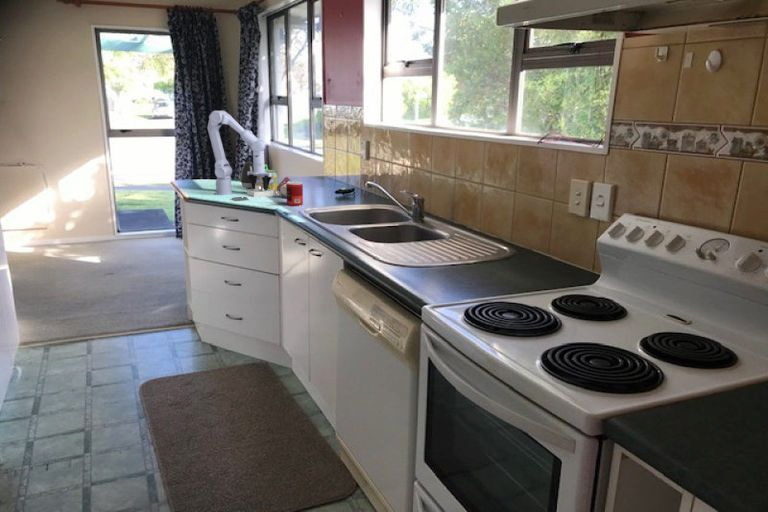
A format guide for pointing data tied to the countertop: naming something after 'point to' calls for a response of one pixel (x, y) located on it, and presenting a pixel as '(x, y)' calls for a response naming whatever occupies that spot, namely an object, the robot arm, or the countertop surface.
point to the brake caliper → (282, 188)
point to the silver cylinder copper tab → (258, 187)
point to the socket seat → (239, 199)
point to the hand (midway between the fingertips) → (260, 189)
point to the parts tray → (260, 193)
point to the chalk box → (272, 182)
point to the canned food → (294, 193)
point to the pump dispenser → (246, 174)
